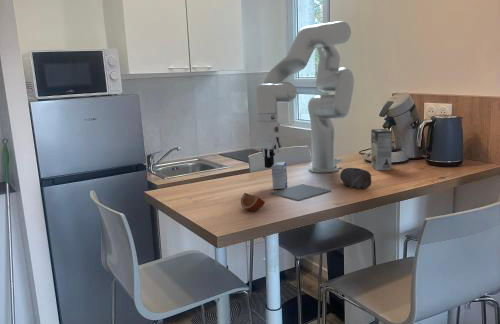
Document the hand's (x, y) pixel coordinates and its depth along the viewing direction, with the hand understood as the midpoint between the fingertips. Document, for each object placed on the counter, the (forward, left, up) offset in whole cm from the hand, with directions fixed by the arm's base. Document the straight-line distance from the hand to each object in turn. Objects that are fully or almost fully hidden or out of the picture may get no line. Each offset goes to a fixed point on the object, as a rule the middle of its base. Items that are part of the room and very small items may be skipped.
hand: (269, 167), depth 161 cm
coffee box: (-50, +14, -7) cm, 52 cm away
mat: (0, +16, -7) cm, 18 cm away
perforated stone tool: (-18, +25, -7) cm, 31 cm away
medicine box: (0, +6, -7) cm, 9 cm away
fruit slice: (+24, +20, -7) cm, 32 cm away
